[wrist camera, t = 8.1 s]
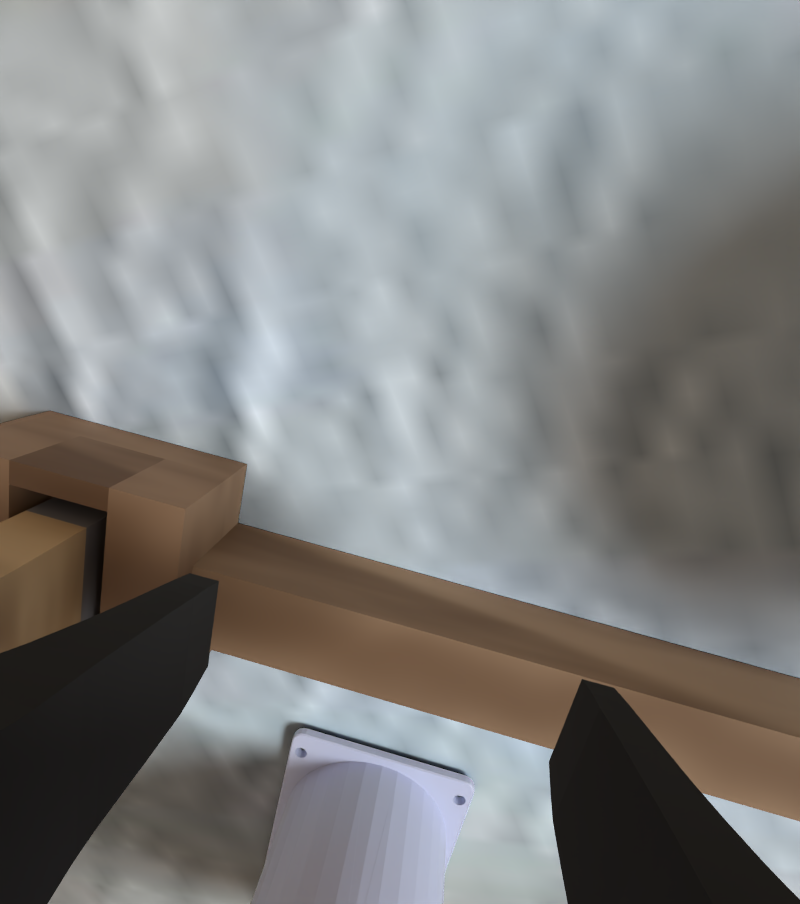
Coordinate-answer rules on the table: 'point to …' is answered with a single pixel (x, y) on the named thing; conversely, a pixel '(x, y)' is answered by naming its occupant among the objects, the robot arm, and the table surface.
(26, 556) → the tan square peg
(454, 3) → the table surface
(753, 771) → the post
